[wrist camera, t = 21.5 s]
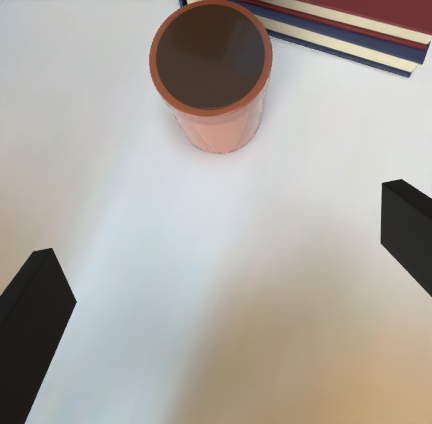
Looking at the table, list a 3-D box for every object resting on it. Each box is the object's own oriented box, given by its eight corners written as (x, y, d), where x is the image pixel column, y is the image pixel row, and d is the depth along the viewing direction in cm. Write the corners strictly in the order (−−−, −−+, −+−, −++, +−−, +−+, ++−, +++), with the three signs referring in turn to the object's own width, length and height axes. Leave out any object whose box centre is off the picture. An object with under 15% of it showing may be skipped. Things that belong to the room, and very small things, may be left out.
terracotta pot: (164, 139, 33) (130, 94, 23) (194, 61, 34) (174, -18, 23) (245, 168, 32) (247, 133, 22) (275, 86, 33) (290, 17, 23)
